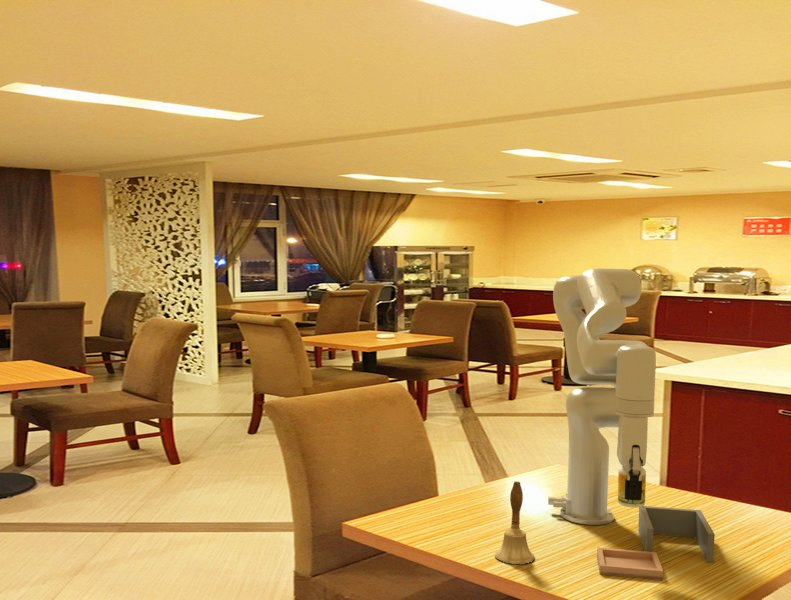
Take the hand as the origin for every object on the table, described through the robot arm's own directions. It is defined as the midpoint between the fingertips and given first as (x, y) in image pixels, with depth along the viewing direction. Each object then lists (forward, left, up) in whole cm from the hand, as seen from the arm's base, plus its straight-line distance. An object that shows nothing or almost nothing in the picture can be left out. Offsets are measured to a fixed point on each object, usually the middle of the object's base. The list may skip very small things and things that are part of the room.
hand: (631, 494), depth 160 cm
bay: (+11, +15, -15) cm, 24 cm away
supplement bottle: (0, 0, -2) cm, 2 cm away
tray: (0, 0, -15) cm, 15 cm away
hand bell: (-23, 0, -15) cm, 28 cm away
